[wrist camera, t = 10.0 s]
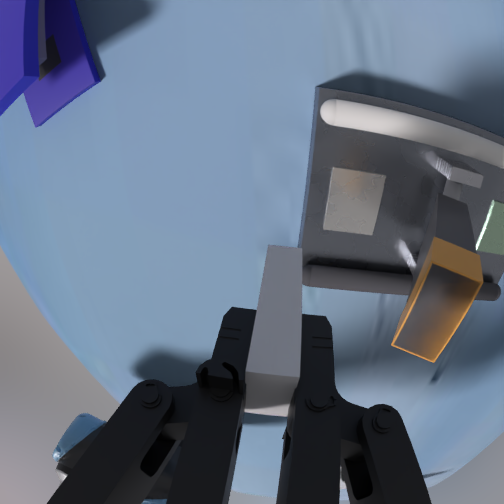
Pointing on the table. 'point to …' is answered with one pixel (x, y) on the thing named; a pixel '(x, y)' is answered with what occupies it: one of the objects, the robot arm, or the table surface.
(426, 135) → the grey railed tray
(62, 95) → the stapler
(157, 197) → the table surface
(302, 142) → the table surface
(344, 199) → the breaker panel
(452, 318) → the lever
